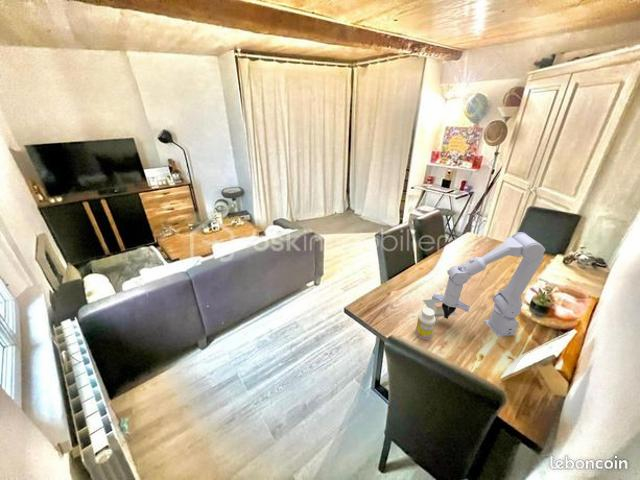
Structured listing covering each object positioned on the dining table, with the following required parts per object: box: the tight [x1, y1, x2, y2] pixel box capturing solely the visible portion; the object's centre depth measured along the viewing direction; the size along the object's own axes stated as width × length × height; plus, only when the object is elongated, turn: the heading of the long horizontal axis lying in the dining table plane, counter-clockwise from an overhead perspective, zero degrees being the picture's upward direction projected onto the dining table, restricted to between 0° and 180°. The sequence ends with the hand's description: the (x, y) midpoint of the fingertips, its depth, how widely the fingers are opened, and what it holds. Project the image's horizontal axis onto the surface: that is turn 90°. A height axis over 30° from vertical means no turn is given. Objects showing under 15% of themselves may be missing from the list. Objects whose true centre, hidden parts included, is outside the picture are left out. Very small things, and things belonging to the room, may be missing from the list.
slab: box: [433, 303, 444, 315], centre depth 115 cm, size 2×4×5 cm, turn 97°
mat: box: [422, 298, 458, 318], centre depth 120 cm, size 12×11×1 cm
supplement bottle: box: [415, 307, 437, 340], centre depth 103 cm, size 7×7×13 cm
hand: (446, 316), depth 110 cm, fingers closed
